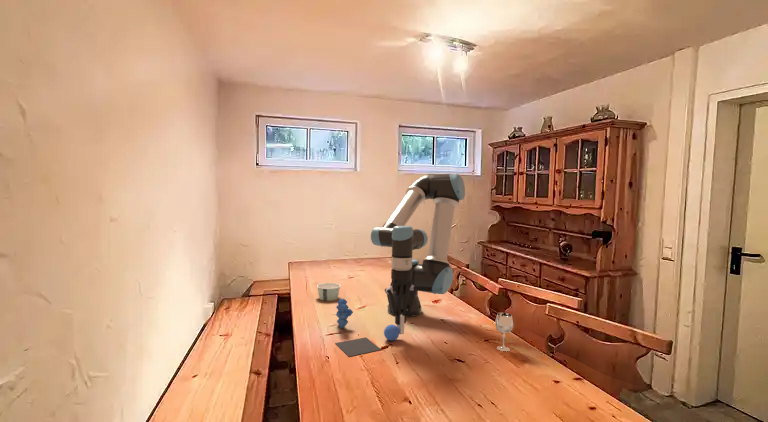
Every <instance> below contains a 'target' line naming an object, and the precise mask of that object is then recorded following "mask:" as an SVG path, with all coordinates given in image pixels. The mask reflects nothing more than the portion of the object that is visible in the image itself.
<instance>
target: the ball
mask: <svg viewBox="0 0 768 422" xmlns="http://www.w3.org/2000/svg"><path fill="white" fill-rule="evenodd" d="M383 335H384V337H385V339H387V340H388V341H390V342H392V341H395V340H396V341H397V339H398V338H399V336H400V334H399V329H398V328H397V325H396V324H388V325H387V326H386V327H385V328H384V330H383Z"/></svg>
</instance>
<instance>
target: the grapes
mask: <svg viewBox="0 0 768 422" xmlns="http://www.w3.org/2000/svg"><path fill="white" fill-rule="evenodd" d="M336 310H337V311H336V314H335V316H336V317H337V318H338V319H337V321H336V323H337V324H338V327H340V328H341V329H344V328H345V327H346V326H347V325H348V324H349V321H348V318H349V317H351V316H352V315H353V312H354V311H353V310H352V309H351V308H349V306H348V301H347V300H346V299H345V298H339V300H338V301H337V305H336Z"/></svg>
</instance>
